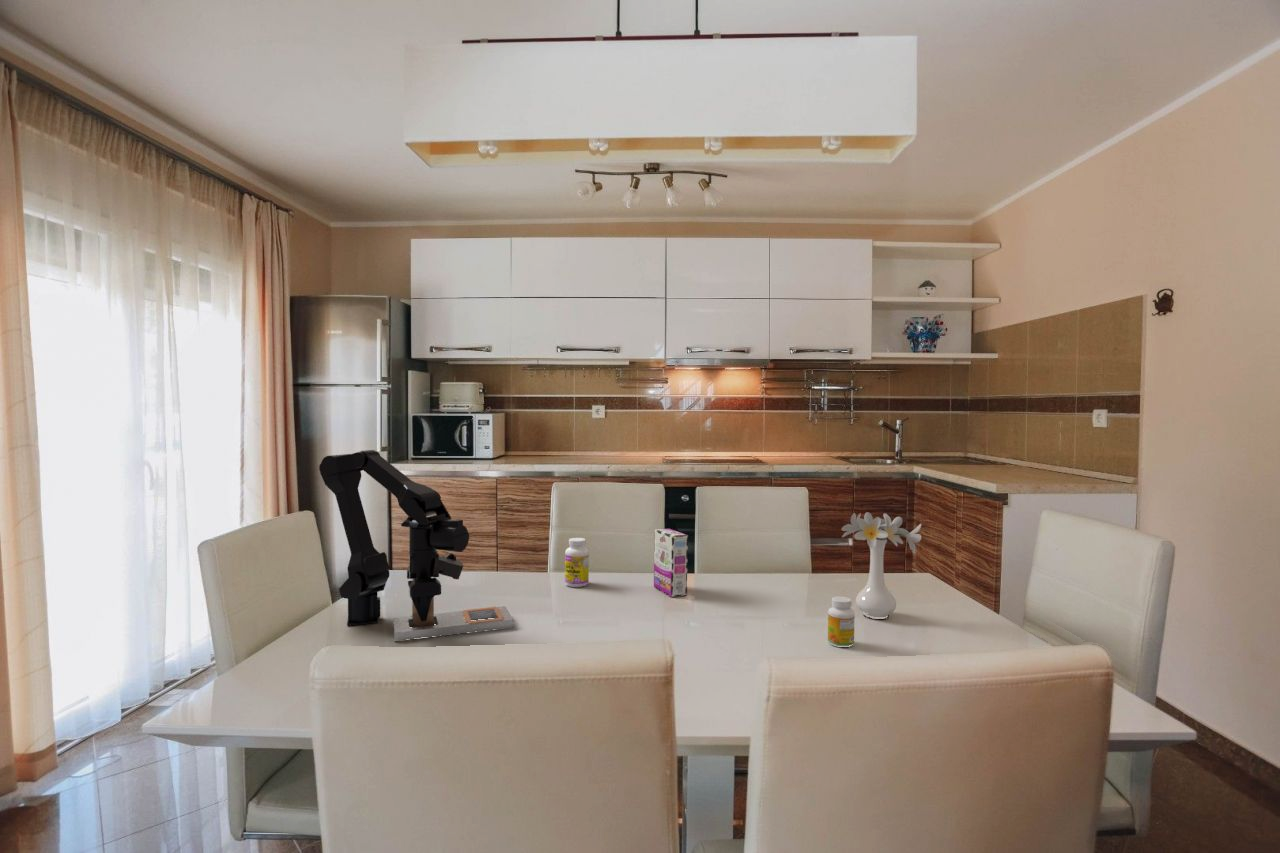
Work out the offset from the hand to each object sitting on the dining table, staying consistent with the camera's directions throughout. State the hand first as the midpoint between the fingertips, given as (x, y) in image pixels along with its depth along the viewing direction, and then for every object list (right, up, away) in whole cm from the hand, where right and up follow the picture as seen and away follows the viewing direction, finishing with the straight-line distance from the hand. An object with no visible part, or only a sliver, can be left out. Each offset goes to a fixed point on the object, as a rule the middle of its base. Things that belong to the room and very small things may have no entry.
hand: (423, 617), depth 143 cm
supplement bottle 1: (+30, -2, +38) cm, 49 cm away
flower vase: (+106, -4, +14) cm, 107 cm away
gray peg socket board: (+6, -3, +3) cm, 7 cm away
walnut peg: (0, -3, 0) cm, 3 cm away
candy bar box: (+56, -3, +33) cm, 65 cm away
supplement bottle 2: (+91, -4, -5) cm, 91 cm away
